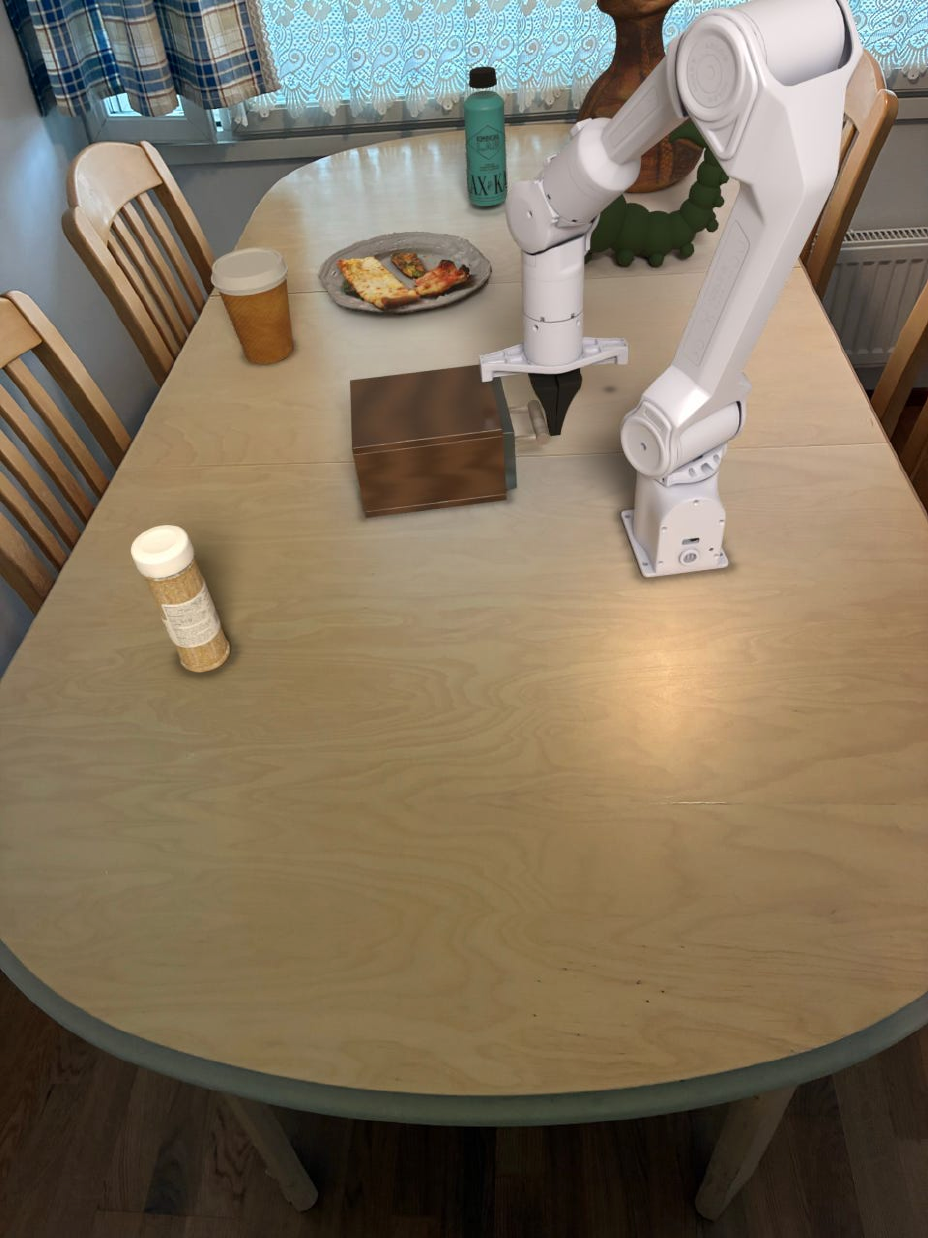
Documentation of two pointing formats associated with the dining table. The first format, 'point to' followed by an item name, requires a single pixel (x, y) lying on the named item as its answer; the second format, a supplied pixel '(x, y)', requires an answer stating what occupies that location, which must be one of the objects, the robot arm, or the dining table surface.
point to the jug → (638, 50)
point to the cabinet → (426, 441)
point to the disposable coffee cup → (256, 301)
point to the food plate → (404, 272)
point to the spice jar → (181, 596)
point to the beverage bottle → (485, 140)
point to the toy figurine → (663, 215)
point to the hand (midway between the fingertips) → (553, 430)
